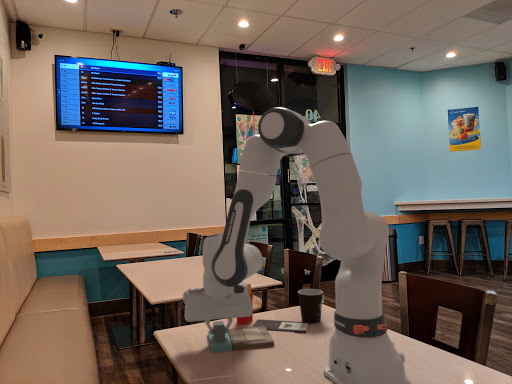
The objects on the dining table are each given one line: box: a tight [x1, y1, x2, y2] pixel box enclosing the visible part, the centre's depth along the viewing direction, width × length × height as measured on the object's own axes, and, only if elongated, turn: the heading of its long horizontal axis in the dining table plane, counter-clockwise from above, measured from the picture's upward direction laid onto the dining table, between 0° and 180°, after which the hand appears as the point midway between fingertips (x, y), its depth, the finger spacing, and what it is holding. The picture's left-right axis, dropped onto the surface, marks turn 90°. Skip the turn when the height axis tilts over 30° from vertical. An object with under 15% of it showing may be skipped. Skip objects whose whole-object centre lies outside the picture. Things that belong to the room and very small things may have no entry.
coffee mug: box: [297, 288, 324, 325], centre depth 134 cm, size 12×9×10 cm
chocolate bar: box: [251, 319, 310, 334], centre depth 127 cm, size 9×1×18 cm
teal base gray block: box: [207, 320, 233, 353], centre depth 114 cm, size 14×6×5 cm, turn 11°
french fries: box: [236, 282, 254, 326], centre depth 133 cm, size 9×4×13 cm, turn 156°
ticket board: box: [228, 326, 275, 351], centre depth 116 cm, size 14×12×2 cm
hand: (219, 333), depth 114 cm, fingers closed on teal base gray block, 3 cm apart
